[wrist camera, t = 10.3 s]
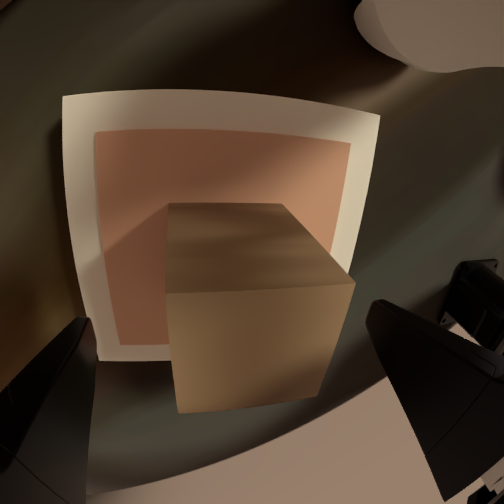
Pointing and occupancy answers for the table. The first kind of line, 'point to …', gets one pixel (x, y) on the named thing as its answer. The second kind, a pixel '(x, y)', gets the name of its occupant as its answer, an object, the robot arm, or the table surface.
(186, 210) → the walnut block
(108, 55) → the table surface
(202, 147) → the plinth
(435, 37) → the water bottle
